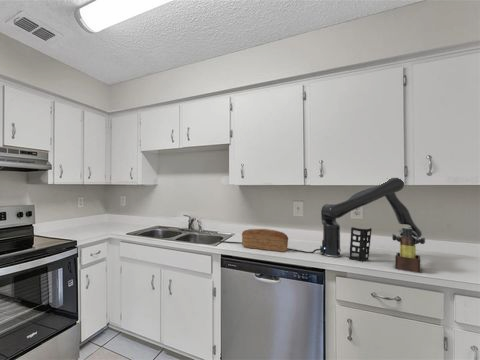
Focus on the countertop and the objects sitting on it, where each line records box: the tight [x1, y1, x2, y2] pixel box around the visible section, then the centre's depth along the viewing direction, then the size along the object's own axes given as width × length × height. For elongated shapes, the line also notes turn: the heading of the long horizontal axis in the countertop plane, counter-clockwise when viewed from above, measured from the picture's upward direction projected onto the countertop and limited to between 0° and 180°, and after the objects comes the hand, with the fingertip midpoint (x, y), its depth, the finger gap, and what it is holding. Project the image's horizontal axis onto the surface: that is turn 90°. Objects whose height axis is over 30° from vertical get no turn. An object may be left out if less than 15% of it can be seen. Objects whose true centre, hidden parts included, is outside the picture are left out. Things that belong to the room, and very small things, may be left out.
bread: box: [241, 228, 289, 252], centre depth 187 cm, size 12×31×14 cm, turn 61°
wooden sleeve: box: [394, 252, 421, 274], centre depth 145 cm, size 10×11×7 cm
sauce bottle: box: [399, 227, 417, 259], centre depth 145 cm, size 6×6×20 cm
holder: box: [348, 226, 373, 262], centre depth 160 cm, size 11×8×20 cm
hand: (407, 241), depth 143 cm, fingers closed on sauce bottle, 6 cm apart
